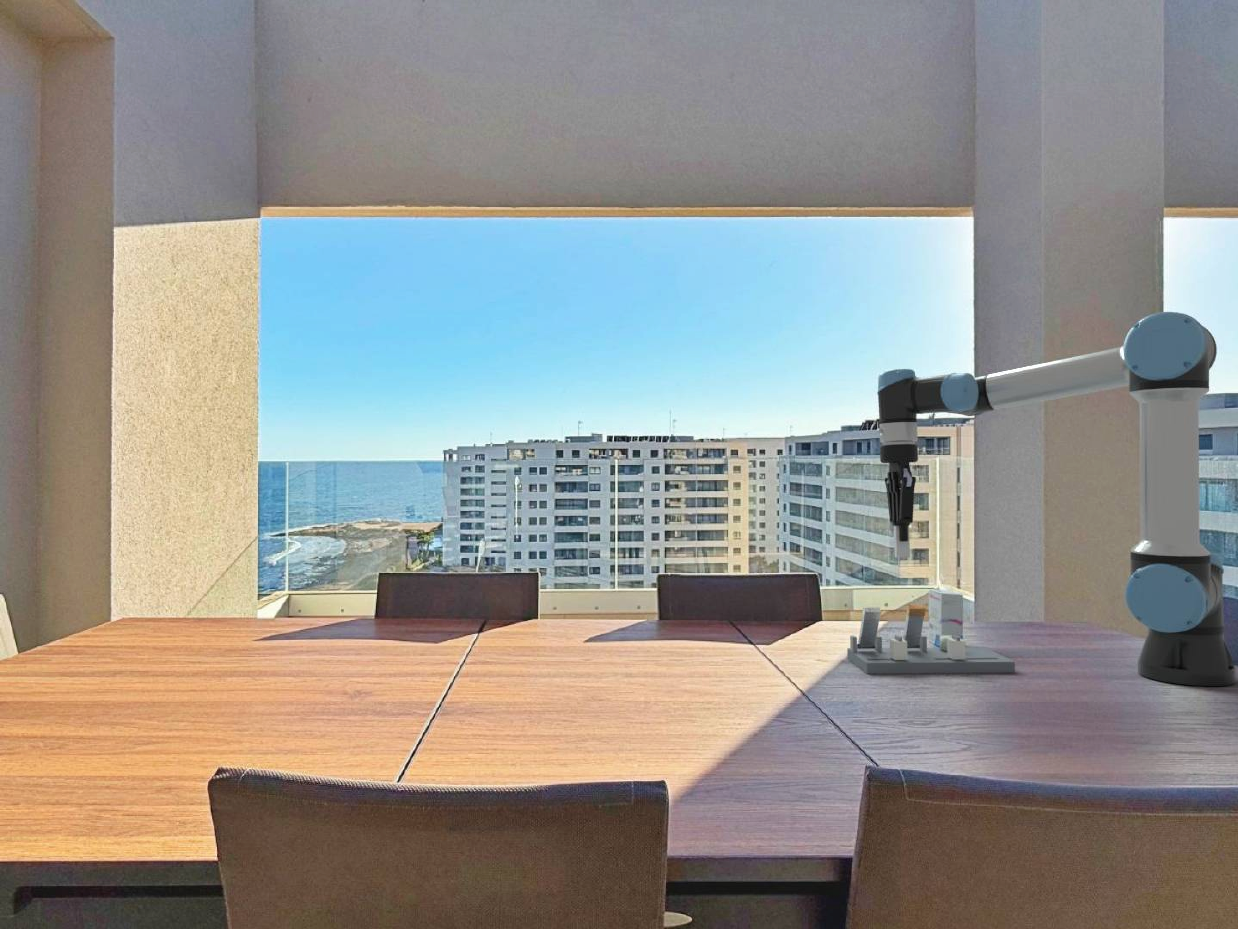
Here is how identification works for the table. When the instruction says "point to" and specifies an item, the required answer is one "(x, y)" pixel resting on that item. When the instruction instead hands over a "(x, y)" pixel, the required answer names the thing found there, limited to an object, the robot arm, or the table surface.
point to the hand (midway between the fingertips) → (902, 557)
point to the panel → (926, 660)
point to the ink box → (945, 614)
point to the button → (944, 641)
